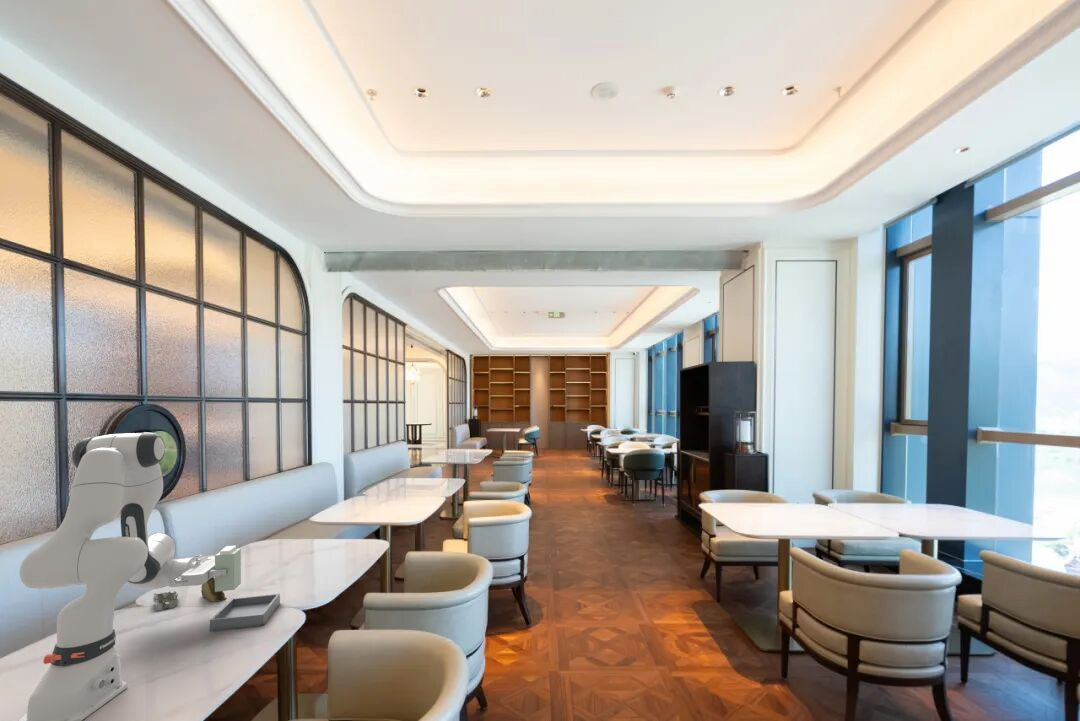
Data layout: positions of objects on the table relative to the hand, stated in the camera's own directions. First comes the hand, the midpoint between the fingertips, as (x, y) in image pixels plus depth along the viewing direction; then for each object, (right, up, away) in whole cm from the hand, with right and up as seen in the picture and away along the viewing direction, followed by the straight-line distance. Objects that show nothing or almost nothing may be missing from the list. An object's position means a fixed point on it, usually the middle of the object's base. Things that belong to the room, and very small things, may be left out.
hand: (231, 567), depth 177 cm
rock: (-17, -19, +18) cm, 31 cm away
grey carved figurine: (-32, -19, +13) cm, 39 cm away
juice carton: (-1, -7, -1) cm, 7 cm away
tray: (+6, -17, 0) cm, 18 cm away
